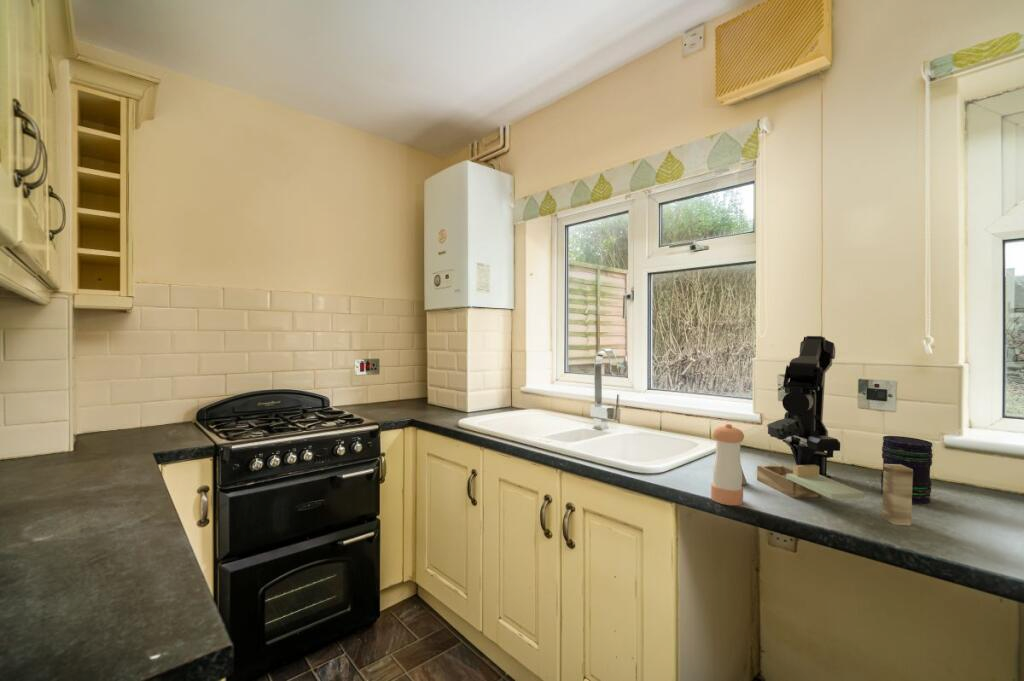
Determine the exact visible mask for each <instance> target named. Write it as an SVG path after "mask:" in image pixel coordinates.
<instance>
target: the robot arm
mask: <svg viewBox="0 0 1024 681" xmlns="http://www.w3.org/2000/svg"><path fill="white" fill-rule="evenodd" d="M799 344H800V345H799V355H798V356H797V357H794V358H792V359H791V360H790V361H789V364H788V365H787V364H786V366H785V373H784V377H783V384H782V388H784V389H789V391H788V392H787V393H786V394H785V395H784V396H783V398H782V402H781V403H782V407H783V409H784V410H785V413H784V417H783V418H781V419H778V420H775V421H772V422H770V423H768V424H766V425H767V426H766V427H767V434H768V435H769V436H770V437H771V438H776V439H777V440H780V441H781V440H782V442H783V443H785V444H786V445H787V446H788V447H789V449H790V450H791V453H792V455H793V459H794V461H795V465H817V466H819V475H822V476H824V477H827V478H831V475H830V474H828V473H827V468H828V466H827V463H828V459H831V458H834V452H840V451H841V441H839V439H837V438H835V437H832V436H829V430H828V429H827V426H826V425H825V423H824V422H823V417H824V403H825V402H824V401H825V399H824V398H825V383H826V373H827V372H828V371H829V369H830V368H831V367H832V365H833V360H835V359H836V346H835V343H834V342H832V341H829V340H827V339H826V337H825V336H822V335H806V336H803V340H802V341H800V343H799Z"/></svg>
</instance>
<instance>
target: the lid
mask: <svg viewBox="0 0 1024 681" xmlns="http://www.w3.org/2000/svg"><path fill="white" fill-rule="evenodd" d="M792 466H793V468H792V469H793V474H786V479H789V480H791V481H793V482H795V483H797V484H800V485H802V486H804V487H806V488H808V489H811V490H813V491H815V492H817V493H819V494H821V496H824V497H826V498H828V499H830V500H840V499H844V500H846V499H865V492H863V491H861V490H858V489H856V488H853V487H851V486H849V485H847V484H844V483H842V482H839V481H836V480H833V479H832V478H830V477H828V478H827V477H824V476H822V475H819V466H817V465H796V464H793V465H792Z"/></svg>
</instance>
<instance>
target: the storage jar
mask: <svg viewBox="0 0 1024 681" xmlns="http://www.w3.org/2000/svg"><path fill="white" fill-rule="evenodd" d="M882 441H883V442H882V446H881V458H882V467H883V466H884V464H899V465H903V466H906V467H908V468H911V469H913V482H912V505H918V504H919V506H921V505H920V504H926V505H929V504H930V503H931V499H930V498H931V494H932V480H931V466H933V443H932V442H931V441H929V440H925V439H921V438H915V437H910V436H900V435H885V436H884V435H883V436H882ZM883 472H884V470H883V469H882V472H881V473H880V478H881V479H880V485H881V490H880V494H881V495H882V496H883ZM928 503H929V504H928Z"/></svg>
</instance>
